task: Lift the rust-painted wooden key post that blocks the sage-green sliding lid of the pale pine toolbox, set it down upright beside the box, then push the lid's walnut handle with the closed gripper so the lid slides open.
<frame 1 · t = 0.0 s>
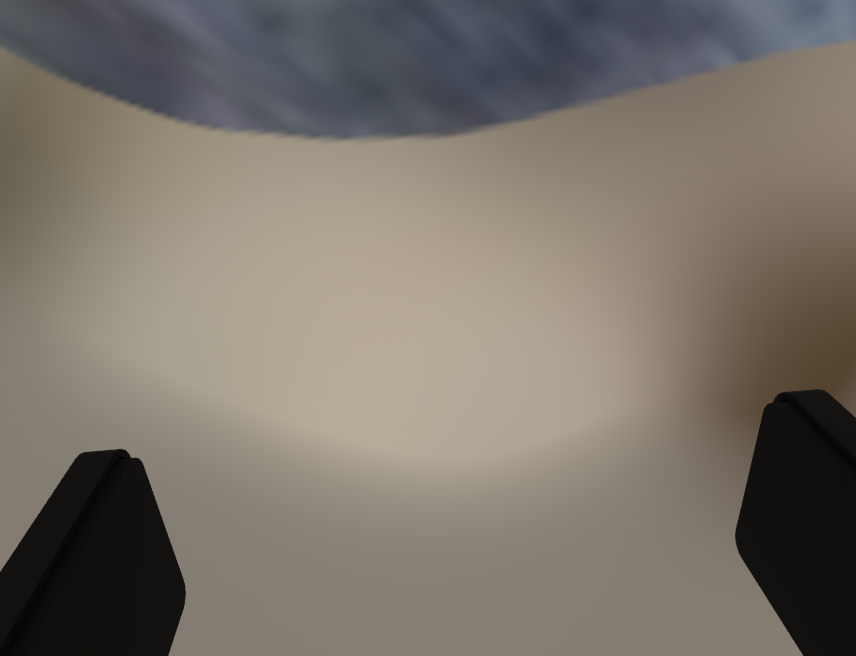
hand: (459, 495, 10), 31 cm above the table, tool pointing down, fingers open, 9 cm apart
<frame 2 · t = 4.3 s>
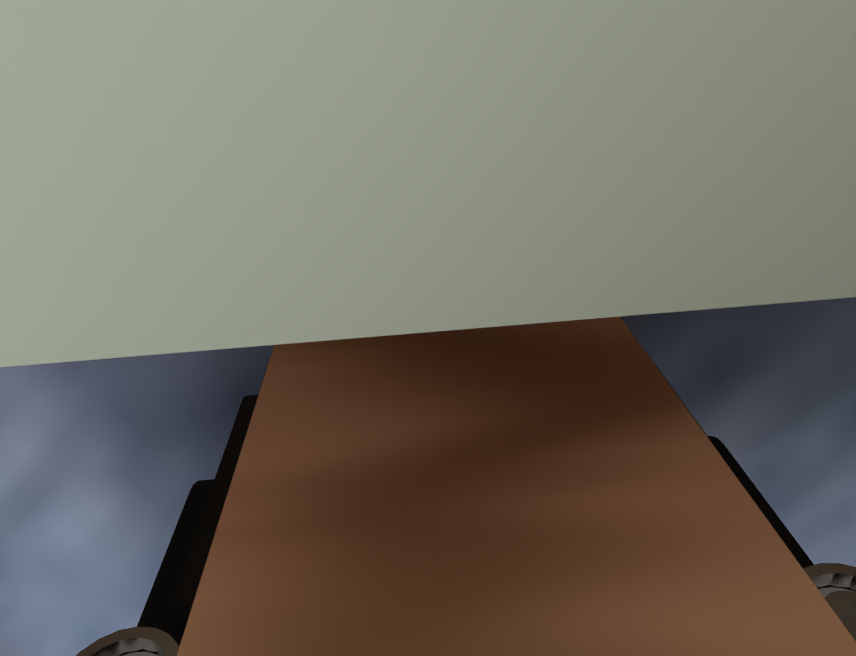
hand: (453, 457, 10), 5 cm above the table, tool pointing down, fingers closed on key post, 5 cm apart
key post: (432, 310, 15), on the table, touching gripper
when the fingers open (7 cm above the table, at t = 13.2 s): key post drops 1 cm, on the table.
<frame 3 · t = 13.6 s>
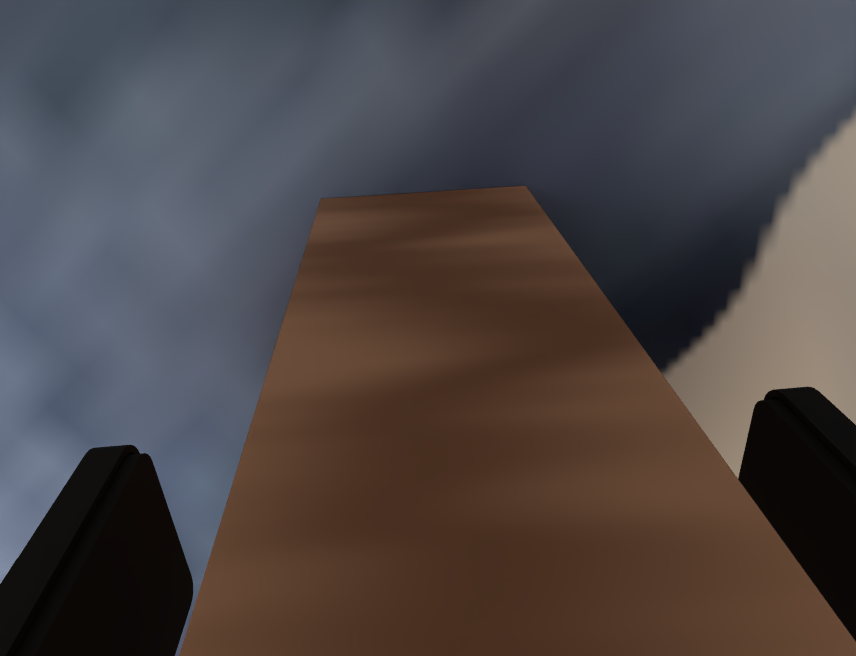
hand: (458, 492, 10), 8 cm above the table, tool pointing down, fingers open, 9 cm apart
key post: (428, 285, 17), on the table
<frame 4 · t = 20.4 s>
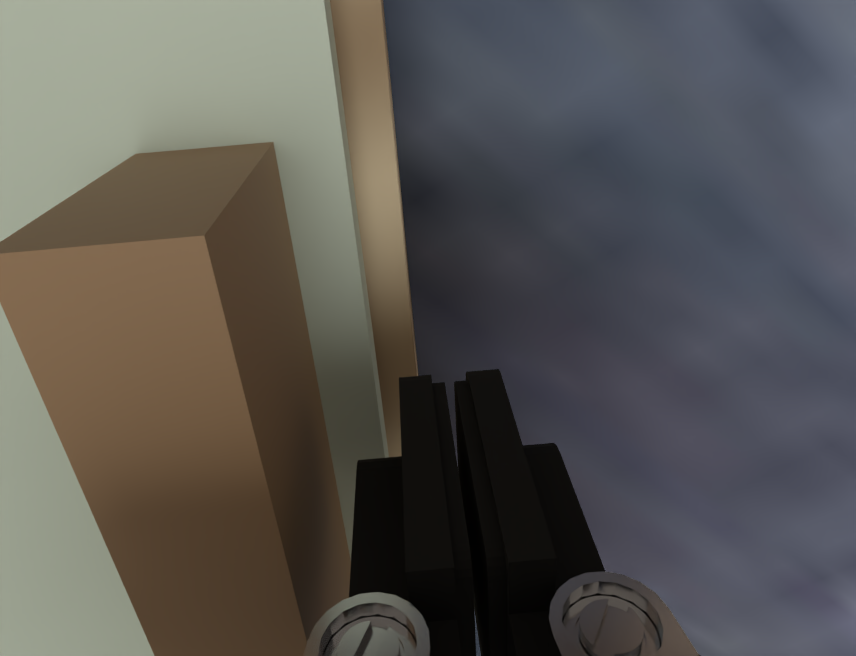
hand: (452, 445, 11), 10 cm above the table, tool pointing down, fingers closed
toolbox: (116, 262, 20), on the table
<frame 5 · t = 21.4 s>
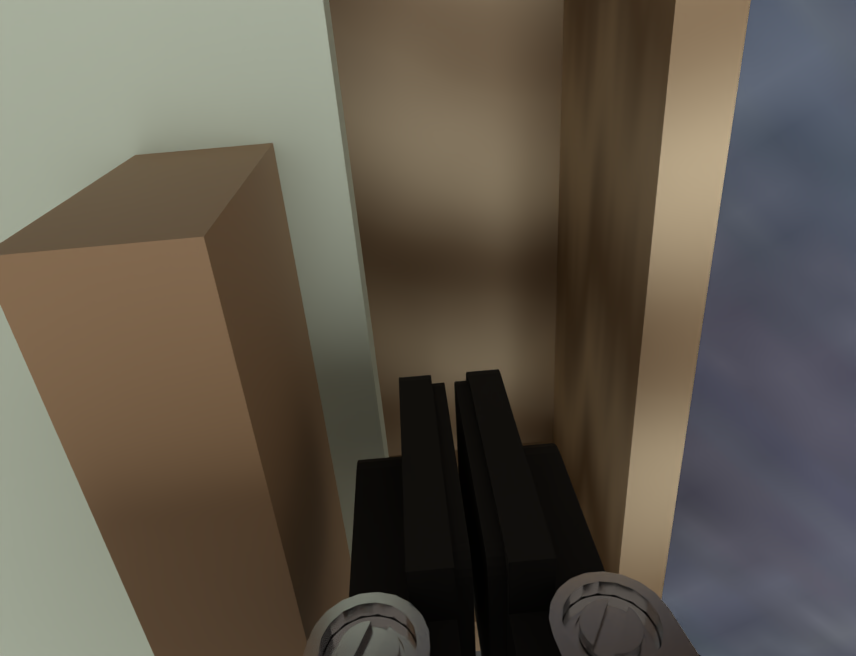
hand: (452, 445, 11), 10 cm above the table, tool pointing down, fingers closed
toolbox: (303, 246, 20), on the table
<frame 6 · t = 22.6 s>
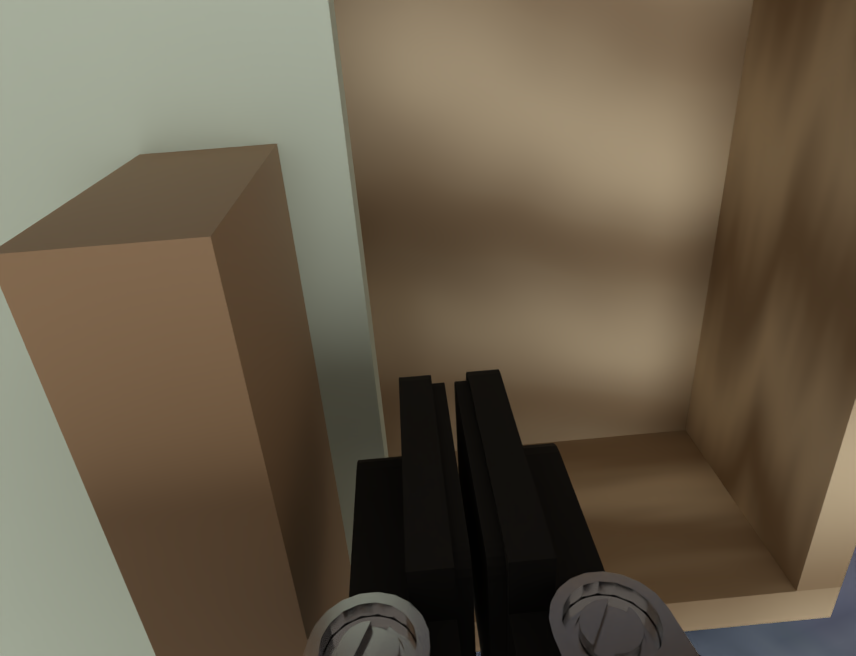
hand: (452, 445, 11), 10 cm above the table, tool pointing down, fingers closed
toolbox: (459, 233, 20), on the table
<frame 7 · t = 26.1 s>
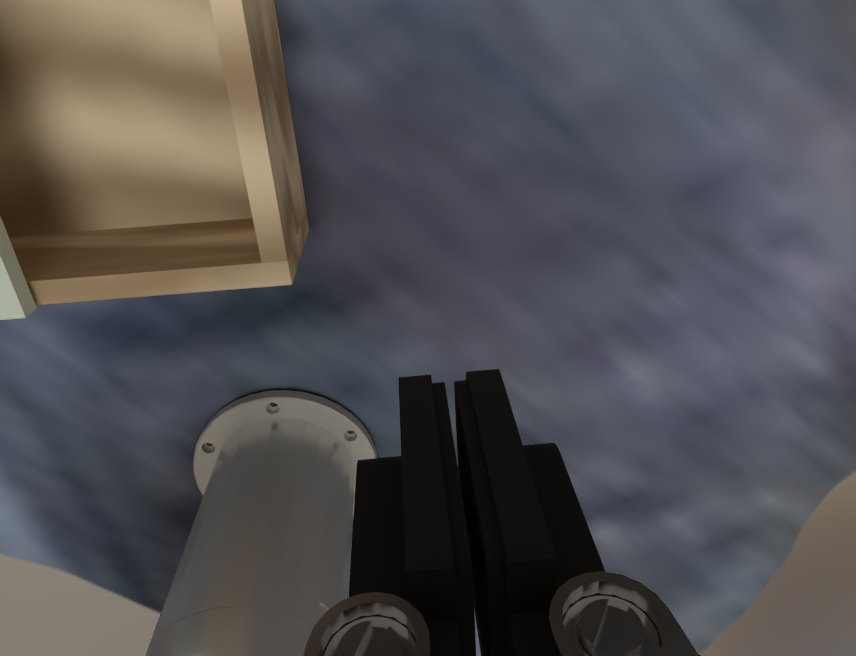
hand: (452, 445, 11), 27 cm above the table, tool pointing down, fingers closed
toolbox: (107, 74, 32), on the table
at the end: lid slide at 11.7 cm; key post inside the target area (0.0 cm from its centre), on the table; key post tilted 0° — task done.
